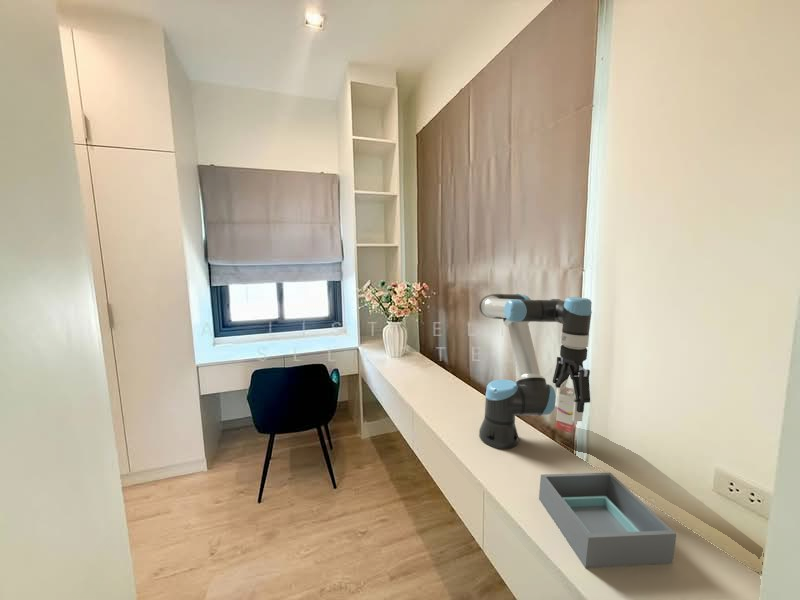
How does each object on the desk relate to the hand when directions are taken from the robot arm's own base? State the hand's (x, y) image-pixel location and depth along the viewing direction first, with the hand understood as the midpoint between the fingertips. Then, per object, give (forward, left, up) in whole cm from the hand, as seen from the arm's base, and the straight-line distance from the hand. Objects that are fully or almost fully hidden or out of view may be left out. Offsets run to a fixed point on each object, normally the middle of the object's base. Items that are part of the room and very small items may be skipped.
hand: (567, 413), depth 105 cm
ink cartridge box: (0, 0, -5) cm, 5 cm away
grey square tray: (+20, -2, -22) cm, 31 cm away
